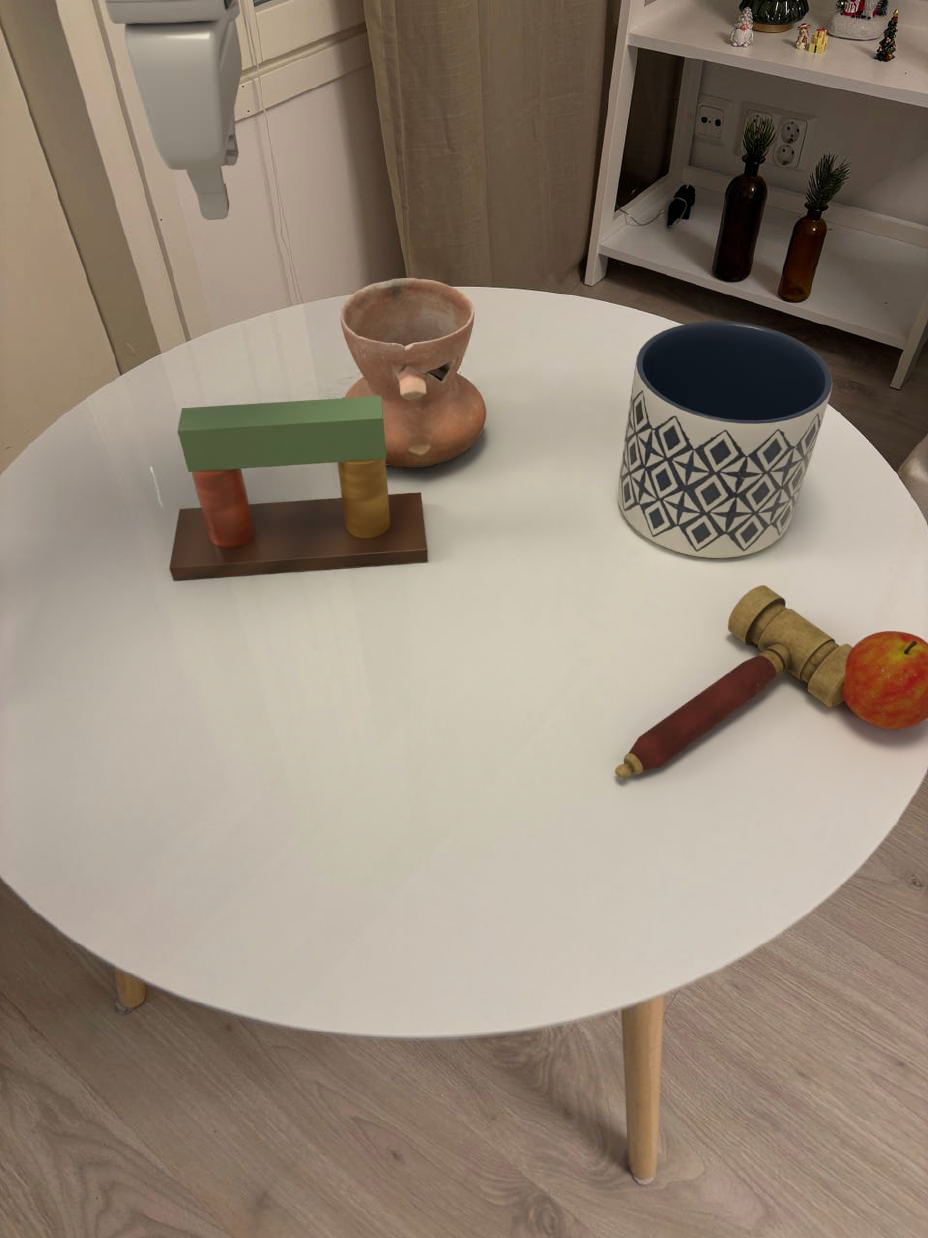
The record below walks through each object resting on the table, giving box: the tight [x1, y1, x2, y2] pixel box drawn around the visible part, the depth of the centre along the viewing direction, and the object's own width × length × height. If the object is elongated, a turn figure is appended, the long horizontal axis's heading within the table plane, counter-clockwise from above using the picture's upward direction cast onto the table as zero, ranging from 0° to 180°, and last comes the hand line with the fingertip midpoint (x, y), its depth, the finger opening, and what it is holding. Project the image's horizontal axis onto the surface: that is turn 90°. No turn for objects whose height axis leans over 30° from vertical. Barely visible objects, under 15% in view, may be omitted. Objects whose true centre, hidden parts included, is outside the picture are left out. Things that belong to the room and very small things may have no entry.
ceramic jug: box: [339, 277, 487, 468], centre depth 90 cm, size 18×14×14 cm
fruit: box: [841, 630, 928, 730], centre depth 67 cm, size 7×7×8 cm
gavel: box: [614, 584, 854, 780], centre depth 69 cm, size 21×5×10 cm
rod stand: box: [169, 459, 429, 582], centre depth 81 cm, size 22×8×10 cm, turn 96°
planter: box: [617, 320, 833, 559], centre depth 82 cm, size 16×16×14 cm
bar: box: [177, 396, 386, 473], centre depth 76 cm, size 16×3×4 cm, turn 96°
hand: (222, 187), depth 66 cm, fingers open, 8 cm apart
